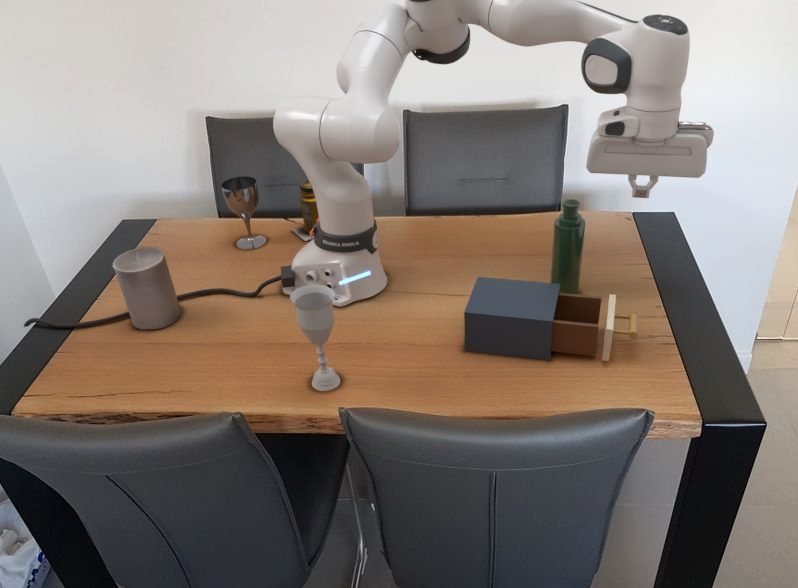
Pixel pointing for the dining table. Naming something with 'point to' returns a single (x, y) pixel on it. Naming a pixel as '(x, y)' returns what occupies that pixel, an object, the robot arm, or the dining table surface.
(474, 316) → the cabinet
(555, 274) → the bottle
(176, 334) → the dining table surface
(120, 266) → the pillar candle
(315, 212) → the condiment
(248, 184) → the shiny metal goblet
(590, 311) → the drawer
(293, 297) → the chalice
